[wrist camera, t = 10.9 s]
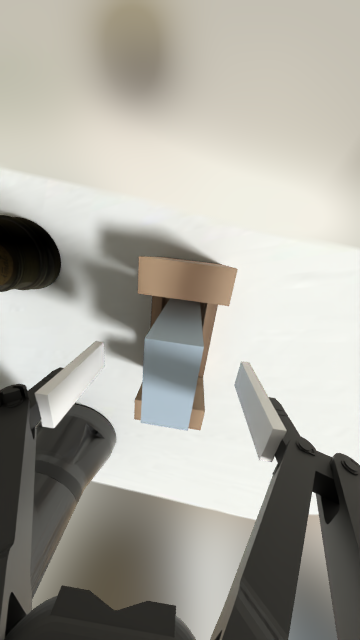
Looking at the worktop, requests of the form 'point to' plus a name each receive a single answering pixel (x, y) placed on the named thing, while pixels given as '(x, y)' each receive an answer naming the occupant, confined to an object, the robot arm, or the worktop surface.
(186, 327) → the door
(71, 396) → the robot arm
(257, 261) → the worktop surface
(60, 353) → the worktop surface
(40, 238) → the container
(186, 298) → the frame
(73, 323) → the worktop surface
